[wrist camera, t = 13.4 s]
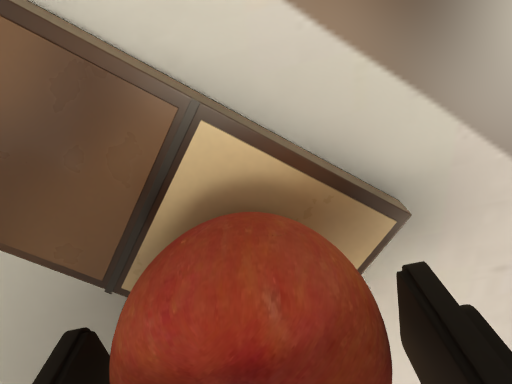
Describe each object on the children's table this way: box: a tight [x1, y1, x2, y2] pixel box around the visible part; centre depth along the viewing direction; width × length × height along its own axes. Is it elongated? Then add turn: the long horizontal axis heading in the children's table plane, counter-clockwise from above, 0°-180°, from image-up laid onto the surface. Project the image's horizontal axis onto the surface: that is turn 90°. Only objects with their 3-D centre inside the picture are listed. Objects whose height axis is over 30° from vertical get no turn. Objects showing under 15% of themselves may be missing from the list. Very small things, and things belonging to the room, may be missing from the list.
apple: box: [109, 212, 392, 384], centre depth 10 cm, size 7×7×8 cm
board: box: [0, 0, 412, 297], centre depth 13 cm, size 18×9×1 cm, turn 61°
